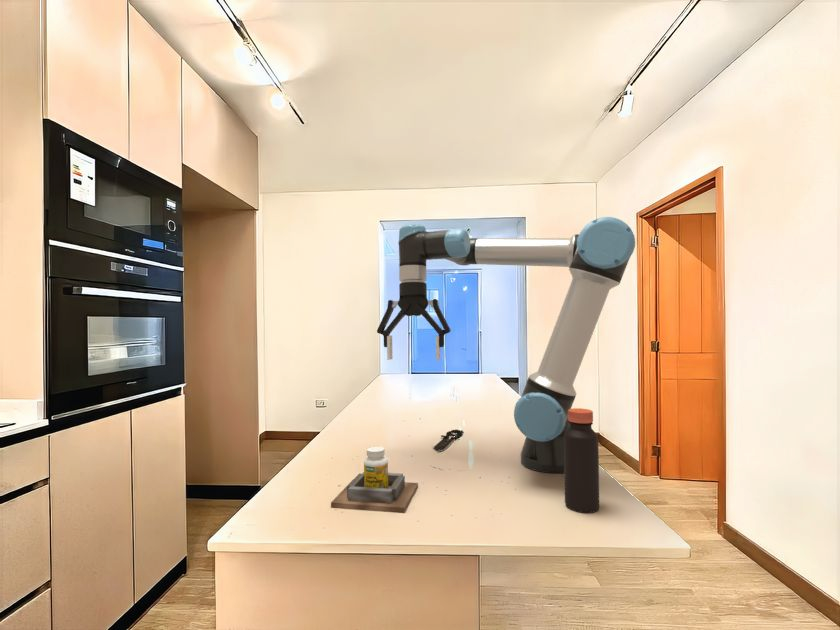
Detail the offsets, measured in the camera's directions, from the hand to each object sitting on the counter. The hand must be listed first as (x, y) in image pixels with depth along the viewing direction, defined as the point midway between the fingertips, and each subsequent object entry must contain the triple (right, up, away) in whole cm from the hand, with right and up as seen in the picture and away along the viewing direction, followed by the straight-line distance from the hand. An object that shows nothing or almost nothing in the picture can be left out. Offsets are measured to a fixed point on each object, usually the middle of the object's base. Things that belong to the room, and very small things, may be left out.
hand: (413, 359), depth 120 cm
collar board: (-8, -29, -22) cm, 37 cm away
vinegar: (+36, -28, -29) cm, 54 cm away
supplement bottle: (-8, -28, -22) cm, 36 cm away
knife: (+11, -30, +22) cm, 39 cm away
